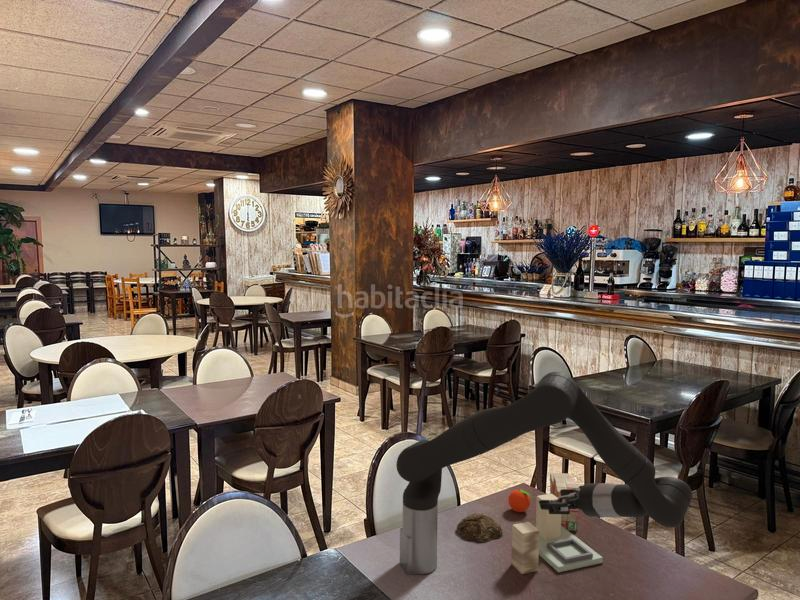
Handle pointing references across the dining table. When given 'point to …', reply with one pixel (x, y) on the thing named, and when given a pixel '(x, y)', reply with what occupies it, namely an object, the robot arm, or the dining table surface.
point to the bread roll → (479, 528)
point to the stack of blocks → (557, 484)
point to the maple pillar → (525, 547)
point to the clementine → (519, 500)
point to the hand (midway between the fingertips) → (551, 499)
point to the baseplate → (561, 542)
